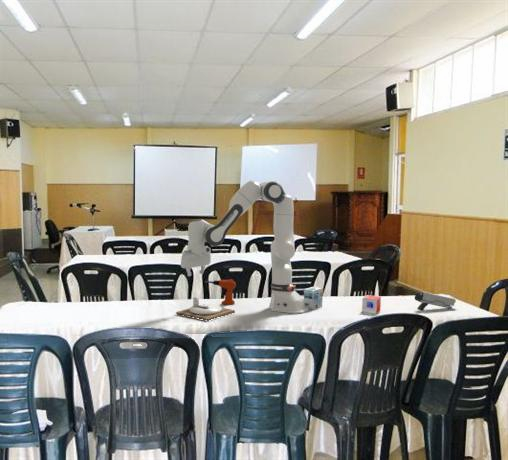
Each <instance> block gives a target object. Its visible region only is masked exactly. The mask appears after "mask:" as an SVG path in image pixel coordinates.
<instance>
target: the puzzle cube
mask: <svg viewBox="0 0 508 460" xmlns="http://www.w3.org/2000/svg"><path fill="white" fill-rule="evenodd" d="M381 298H382V297H381V296H378V295H369V294H367V295H364V296H363V297H362V301H361V302H362V303H361V306H362V308H361V312H364V313H370V314H377V313H379V312H380V311H381V306H382V305H381V300H382V299H381Z"/></svg>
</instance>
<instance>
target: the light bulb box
mask: <svg viewBox="0 0 508 460" xmlns="http://www.w3.org/2000/svg"><path fill="white" fill-rule="evenodd" d="M323 291H324V290H323V288H322V287H316V286H311V287H307V288H304V289H303V299H304V304H305V307H308V308H309V310H315V309H318V308H322V307H323Z"/></svg>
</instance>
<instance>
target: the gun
mask: <svg viewBox="0 0 508 460" xmlns="http://www.w3.org/2000/svg"><path fill="white" fill-rule="evenodd" d="M414 301H417V302H419V303H420V304H419V306H417V310H420V311H424V310H425V308H426V307H427V306H429V305H431V306H436V307H437V306H438V307H440V308H446V309H450V310H451V309H453V307H454V306H455V303H456V301H457V300H456V298H453V297H448V296H443V295H439V294H434V293H430V292H425V291H421V292H418V291H417V292H416V293H415V295H414Z"/></svg>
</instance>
